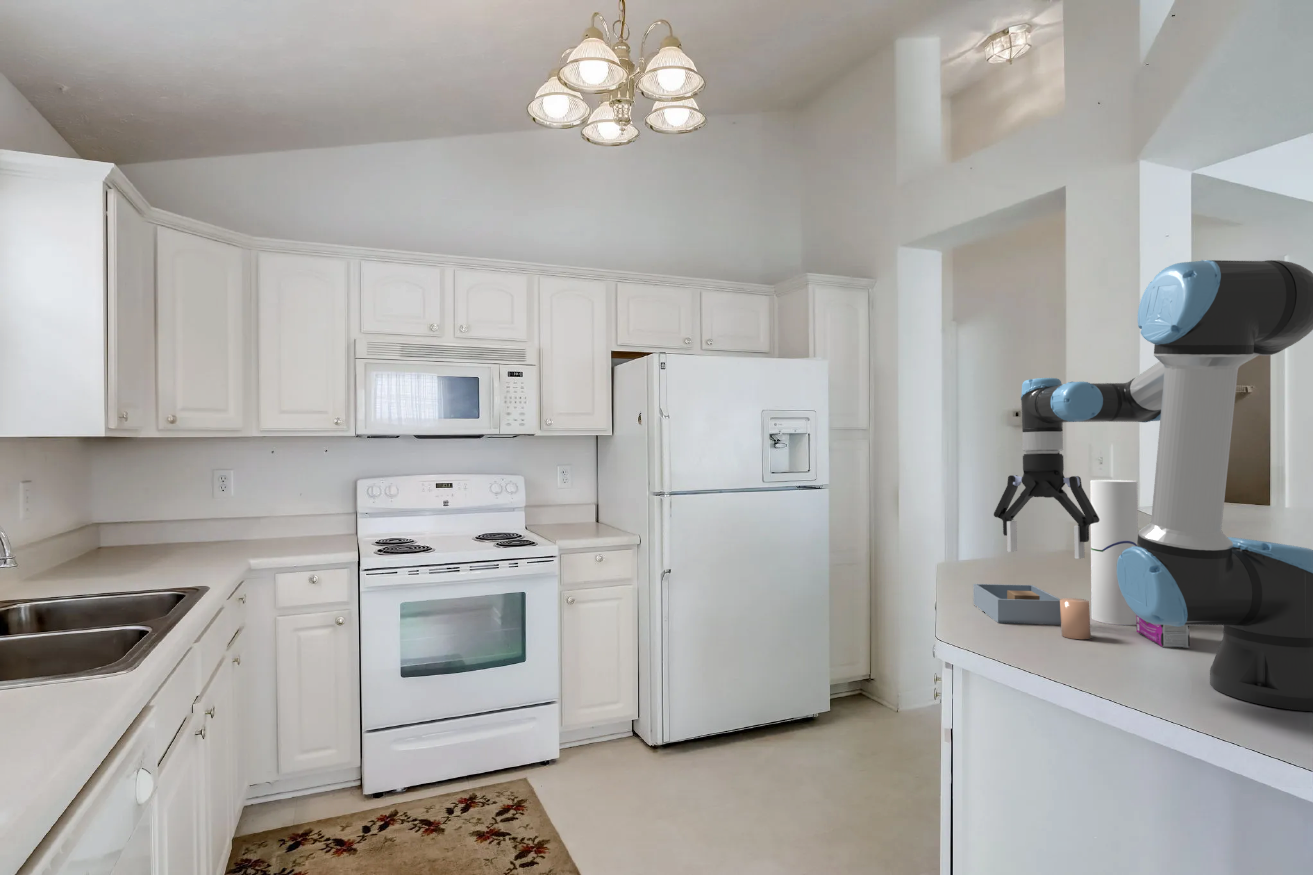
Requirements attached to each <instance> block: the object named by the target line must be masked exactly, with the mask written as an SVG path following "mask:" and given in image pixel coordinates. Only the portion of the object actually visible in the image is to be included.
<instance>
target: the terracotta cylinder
mask: <svg viewBox="0 0 1313 875" xmlns="http://www.w3.org/2000/svg"><path fill="white" fill-rule="evenodd" d="M1059 599H1060V612H1061V625H1060V628H1061V636H1062V637H1064V638H1067V639H1072V640H1090V639H1091V638H1092V633H1091V632H1092V630H1091V614H1090V613H1091V612H1090V600H1087V599H1084V598H1083V599H1082V598H1076V597H1075V598H1073V597H1069V598H1068V597H1063V598H1059Z"/></svg>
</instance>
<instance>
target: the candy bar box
mask: <svg viewBox="0 0 1313 875" xmlns="http://www.w3.org/2000/svg"><path fill="white" fill-rule="evenodd" d="M1135 626H1136V627H1135V628H1136V633H1138V634H1139V635H1141V636H1143V637H1145V638H1146V639H1148V640H1150V641H1151V642H1153V643H1155V644H1157V645H1158V646H1160V647H1162V648H1167V649H1168V648H1169V649H1190V648H1191V647H1190V646H1191V644H1190V643H1191V642H1190V641H1191V640H1190V638H1191V637H1190V632H1191V631H1190V626H1180V627H1176V626H1172V625H1160V624H1152V623H1149V622H1146V621H1144V620H1143V619H1141V618H1140V617H1138V616H1137V615H1136V625H1135Z"/></svg>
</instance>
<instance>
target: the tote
mask: <svg viewBox="0 0 1313 875" xmlns="http://www.w3.org/2000/svg"><path fill="white" fill-rule="evenodd" d="M972 586H973V587H972V588H973V605H974V604H975V605H976V606H978V608H980V609H981V610H982V611H984V612H985V613H986V614H987V615H986V614H985V613H984V612H983V613H984V614H985V615H986V616H988V615H989V616H990V617H989V616H988V617H989V618H991V619H992V620H993V619H994V620H993V621H995V622H996V623H997V622H998V623H997V624H1014V625H1015V624H1019V625H1020V624H1021V625H1022V624H1023V625H1027V624H1028V625H1052V626H1056V625H1057V626H1061V612H1060V599H1061V598H1059V597H1057V596H1055V595H1053V594H1051V593H1049V592H1047V591H1045V590H1043V589H1041V588H1040V587H1037V586H1036V585H1033V584H1003V583H1002V584H1001V583H998V584H997V583H973V584H972ZM1007 590H1010V591H1032V592H1034V593H1036V594H1037V595H1039V596H1040V600H1023V599H1007ZM976 606H975V607H976ZM978 608H977V609H978ZM980 609H979V610H980ZM981 610H980V611H981ZM982 611H981V612H982Z"/></svg>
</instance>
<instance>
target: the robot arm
mask: <svg viewBox="0 0 1313 875" xmlns="http://www.w3.org/2000/svg"><path fill="white" fill-rule="evenodd" d="M1137 325H1138V328H1139V329H1140V335H1141V336H1142V338H1143V339H1144V340H1145V341H1147V342H1150V343H1151V344H1153V346H1154V348H1153V357H1154V358H1156V359H1157V361H1158V362H1157V363H1155V364H1153V365H1152V366H1150V367H1149V368H1147V369H1145V371H1143V372H1141V373H1140V374H1139V375H1137V376H1136V377H1134V378H1132V379H1130V380H1129V381H1127V382H1119V383H1118V382H1117V383H1116V382H1115V383H1114V382H1112V383H1111V382H1110V383H1107V382H1105V383H1101V382H1100V383H1099V382H1098V383H1095V382H1094V383H1090V382H1088V381H1068V382H1066V383H1062V380H1061V379H1059V378H1057V377H1042V378H1041V377H1039V378H1032V379H1031V378H1030V379H1026V380H1024V381H1023V382H1022V384H1021V396H1020V401H1021V402H1020V403H1021V405H1020V406H1021V428H1022V431H1021V432H1022V438H1021V439H1022V444H1021V445H1022V448H1021V450H1022V451H1023V452H1025V453H1024V454H1023V455H1022V471H1023V475H1022V476H1019V475H1018V474H1017V475H1016V474H1013V475H1009V476H1008V477H1007V484H1006V487H1005V490H1004V492H1002V493H1003V494H1002V495H1001V498H1000V500H999V502H998V504H997V505H996V508H995V509H994V512H993V516H994V518H998V519H1000V520H1001V521H1002V530H1003V531H1002V533H1003V536H1006V545H1007V546H1006V548H1007V549H1006V550H1007V551H1006V552H1007V553H1014V552H1018V535H1017V534H1018V533H1017V532H1018V531H1017V529H1018V528H1017V526H1018V525H1017V520H1015V519H1014V518H1015V517H1016V516H1017V515H1018V514H1019V512H1020V511H1021V510H1022V509H1023V508H1024V506H1026V504H1027V503H1028V502H1029V501H1030V499H1032V498H1047V499H1048V498H1054V499H1055V500H1056V501H1058V503H1059V504H1060V505H1061V506H1062V507H1063V508H1064V509H1065V511H1066V512H1067V513H1068V514H1069V515H1070V517H1071V518H1072V519H1073V520H1074V521H1075V522H1076V524H1077V525H1074V526H1073V537H1074V538H1073V539H1074V541H1073V542H1074V559H1077V560H1080V559H1085V555H1086V554H1085V553H1086V552H1085V550H1086V549H1085V543H1087V542H1089V540H1090V526H1091V524H1093V523H1097V522H1099V517H1098V515H1097V514H1096V512H1095V510H1094V508H1093V506H1092V504H1091V502H1090V499H1089V498H1088V495H1087V494H1086V492H1085V490H1084V488H1083V485H1082V478H1081V477H1080V476H1079V475H1074V476H1073V475H1072V476H1069V477H1065V475H1064V467H1065V466H1064V463H1065V462H1064V455H1063V454H1062V453H1061V452H1063V450H1064V438H1063V436H1064V435H1063V434H1064V433H1063V432H1064V431H1063V430H1064V427H1063V426H1064V425H1063V423H1083V422H1084V423H1089V422H1090V423H1098V422H1099V423H1101V422H1103V423H1104V422H1114V423H1115V422H1116V423H1118V422H1119V423H1122V422H1125V423H1126V422H1127V423H1131V422H1132V423H1133V422H1134V423H1135V422H1136V423H1150V422H1159V431H1158V438H1157V439H1158V440H1157V454H1156V462H1155V464H1156V465H1155V474H1154V486H1153V495H1152V496H1153V497H1152V506H1151V508H1152V509H1151V519H1150V522H1149V523H1147V525H1145V526H1143V527H1142V528H1141V529H1140V528H1139V530H1138V540H1137V546H1132V547H1130V548H1127V549H1125V550H1124V551H1123V552H1122V554H1121V555H1120V556H1119V558H1118V562H1117V579H1118V584H1119V587H1120V590H1121V593H1122V595H1123V597H1124V598H1125V600H1126V602H1127V604H1128V606H1129V607H1130V608H1131V610H1132V611H1133V612H1134V613H1135V614H1136V615H1137V616H1138V617H1140V618H1141V619H1143V620H1144V621H1146V622H1149V623H1152V624H1160V625H1172V626H1176V627H1180V626H1189V627H1190V626H1223V632H1222V633H1223V635H1222V640H1221V642H1220V643H1219V647H1218V649H1217V651H1216V654H1215V656H1214V659H1213V660H1212V665H1211V666H1210V668H1209V669H1210V670H1209V685H1210V687H1212V688H1213V689H1214V690H1216V691H1217V692H1220V693H1222V694H1225V695H1226V696H1229V697H1233V698H1235V699H1238V700H1242V701H1245V702H1249V703H1252V704H1253V703H1254V704H1257V705H1261V706H1267V707H1271V708H1272V707H1273V708H1279V709H1285V710H1290V711H1291V710H1292V711H1302V712H1303V711H1304V712H1313V549H1312V548H1309V547H1308V548H1307V547H1302V546H1298V545H1291V544H1283V543H1276V542H1271V541H1264V540H1263V541H1262V540H1257V539H1256V540H1255V539H1248V538H1243V537H1242V538H1241V537H1233V536H1232V537H1231V536H1226V534H1224V532H1223V530H1222V527H1223V517H1224V508H1225V507H1224V506H1225V499H1226V497H1225V496H1226V487H1227V477H1228V470H1229V469H1228V468H1229V460H1230V449H1231V441H1232V440H1231V439H1232V438H1231V437H1232V432H1233V431H1232V430H1233V423H1234V422H1233V421H1234V420H1233V419H1234V412H1235V411H1234V410H1235V402H1236V391H1237V384H1238V383H1237V382H1238V374H1239V373H1238V371H1239V368H1240V367H1241V366H1243V365H1244V364H1245V363H1247V362H1250V361H1252V360H1253V359H1255V358H1257V357H1258V356H1273V355H1276V354H1278V353H1280V352H1282V351H1283V350H1285V349H1289V347H1291V346H1293V345H1294V344H1297V343H1299V342H1300V341H1301V340H1303V338H1305V337H1307V336H1308V335H1309V334H1310V333H1311V332H1312V331H1313V272H1312V271H1311V270H1309V269H1308V268H1306V267H1304V265H1300V264H1297V263H1296V262H1295V263H1294V262H1290V261H1286V260H1279V259H1277V260H1273V259H1271V260H1222V259H1221V260H1218V259H1217V260H1215V259H1214V260H1212V259H1211V260H1210V259H1207V260H1203V259H1201V260H1197V261H1194V260H1193V261H1184V262H1177V263H1174V264H1170V265H1168V266H1167V267H1165V268H1164V269H1162V270H1161V271H1159V273H1157V274H1156V275H1155V276H1154V278H1153V279H1152V281H1149V283H1148V285H1147V286H1146V289H1145V290H1144V292H1143V294H1142V296H1141V299H1140V302H1139V305H1138V310H1137ZM1021 484H1022V485H1023V486H1024V489H1023V490H1022V492H1020V493H1019V494H1020V495H1019V496H1018V497H1017V498H1016V500H1014V502H1013V503H1012V500H1013V498H1014V497H1015V495H1016V492H1017V490H1018V488H1019V487H1020V486H1021ZM1065 484H1066V485H1067V487H1069V488H1070V490H1071V492H1072V494H1073V496H1074V498H1075V500H1076V502H1077V504H1078V506H1079V507H1078V506H1077V505H1076V504H1075V503H1074V501H1073V500H1072V499H1071V498H1070V497H1069V496H1068V493H1066V491H1065V490H1064V489H1063V488H1064V487H1065ZM1011 503H1012V505H1011ZM1079 508H1080V509H1079Z"/></svg>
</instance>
